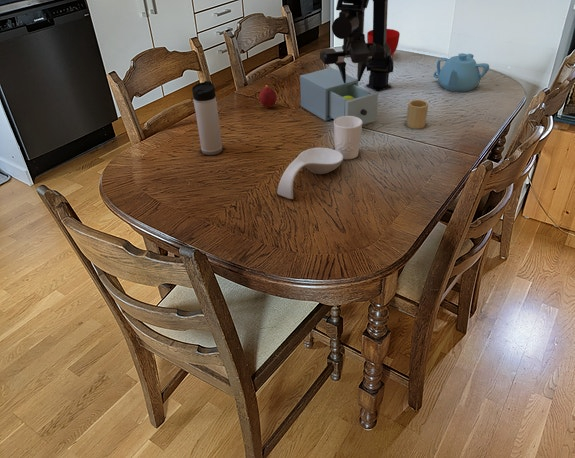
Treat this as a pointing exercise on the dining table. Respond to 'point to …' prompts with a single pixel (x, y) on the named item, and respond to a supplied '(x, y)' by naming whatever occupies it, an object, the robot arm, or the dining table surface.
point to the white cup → (347, 136)
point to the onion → (267, 97)
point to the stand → (417, 114)
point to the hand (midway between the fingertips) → (351, 81)
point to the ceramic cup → (387, 39)
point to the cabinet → (321, 90)
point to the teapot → (460, 73)
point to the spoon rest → (309, 167)
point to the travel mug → (207, 118)
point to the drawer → (353, 103)
